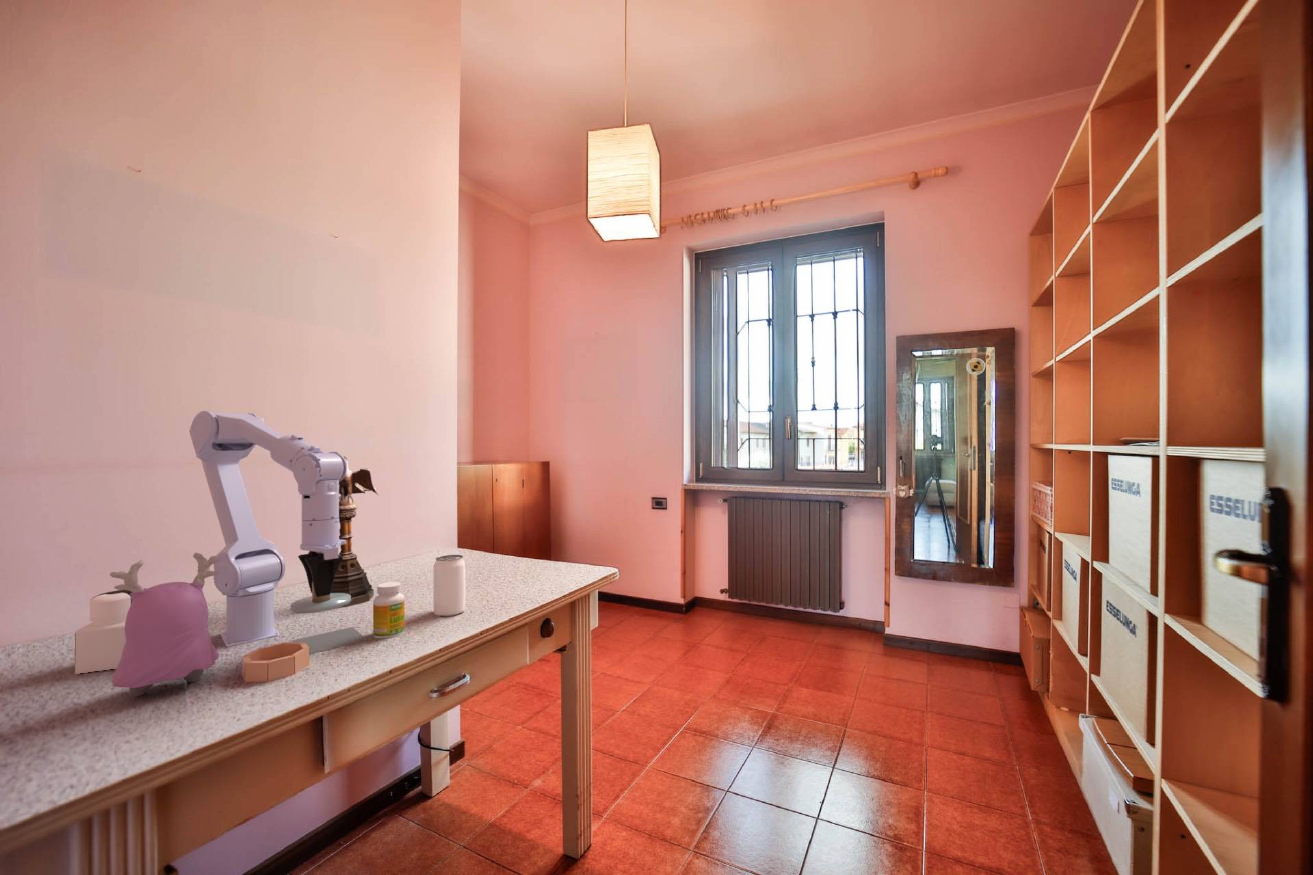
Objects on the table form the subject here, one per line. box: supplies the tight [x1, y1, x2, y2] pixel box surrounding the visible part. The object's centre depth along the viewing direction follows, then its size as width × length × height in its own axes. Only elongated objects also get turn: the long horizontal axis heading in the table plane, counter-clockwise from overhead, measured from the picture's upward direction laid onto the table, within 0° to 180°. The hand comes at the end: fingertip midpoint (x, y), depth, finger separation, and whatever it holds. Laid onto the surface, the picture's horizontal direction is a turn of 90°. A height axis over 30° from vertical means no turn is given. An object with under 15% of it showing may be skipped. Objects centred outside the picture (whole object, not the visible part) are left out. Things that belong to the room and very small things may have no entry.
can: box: [432, 554, 466, 618], centre depth 114 cm, size 6×6×12 cm
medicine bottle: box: [74, 590, 132, 675], centre depth 88 cm, size 7×7×12 cm
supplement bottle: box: [372, 581, 406, 639], centre depth 100 cm, size 5×5×10 cm
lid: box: [290, 581, 351, 614], centre depth 95 cm, size 9×9×4 cm
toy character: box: [109, 552, 220, 698], centre depth 79 cm, size 12×10×20 cm
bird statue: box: [331, 455, 379, 608], centre depth 126 cm, size 17×13×35 cm
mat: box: [291, 626, 368, 656], centre depth 97 cm, size 10×10×1 cm
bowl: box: [241, 641, 310, 683], centre depth 84 cm, size 8×8×3 cm
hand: (320, 593), depth 94 cm, fingers closed on lid, 3 cm apart
